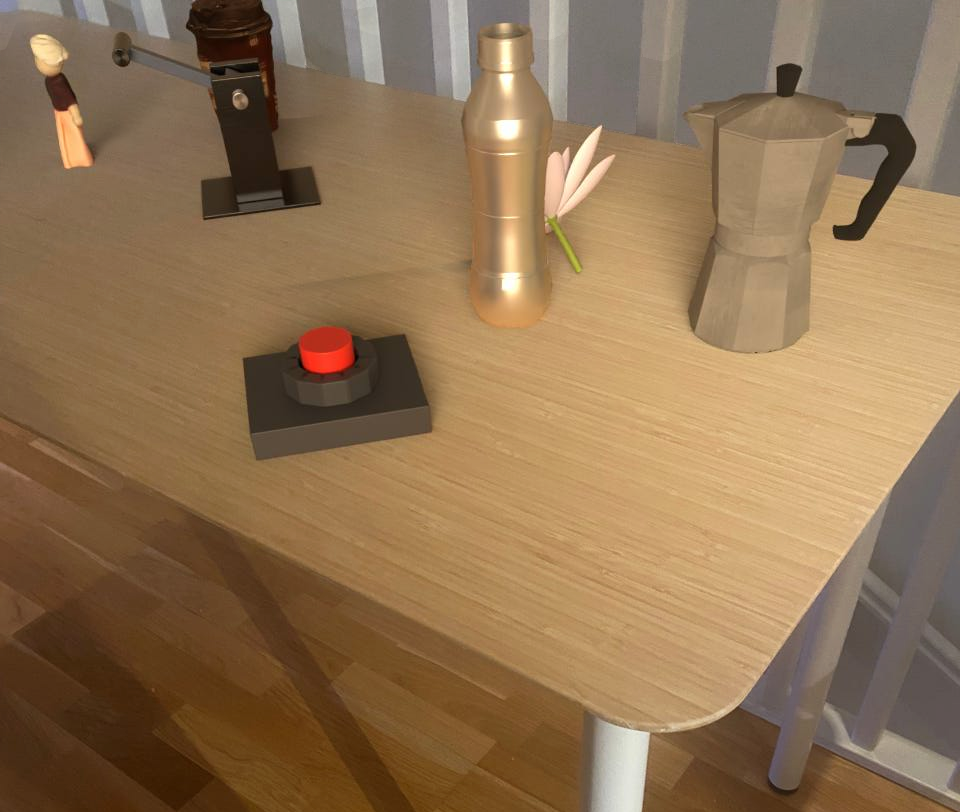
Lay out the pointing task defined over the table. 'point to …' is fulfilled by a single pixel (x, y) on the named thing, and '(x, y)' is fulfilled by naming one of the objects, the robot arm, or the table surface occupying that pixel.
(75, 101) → the grandmother figurine
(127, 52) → the switch lever
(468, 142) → the gold metal bottle
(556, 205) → the water lily
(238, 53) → the coffee cup
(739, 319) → the coffeepot
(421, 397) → the switch base
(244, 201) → the lever bracket
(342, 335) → the button
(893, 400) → the table surface
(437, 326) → the table surface
